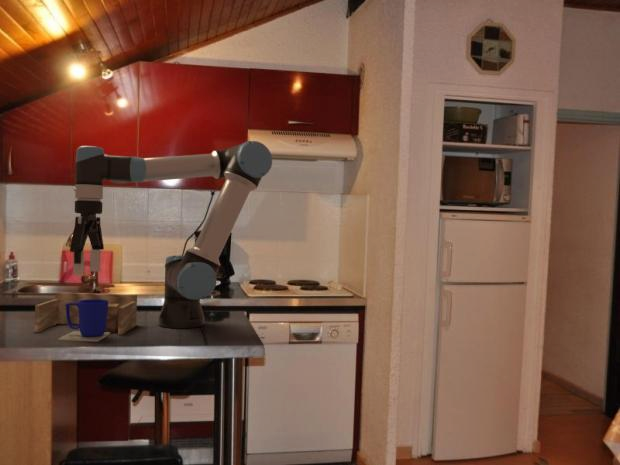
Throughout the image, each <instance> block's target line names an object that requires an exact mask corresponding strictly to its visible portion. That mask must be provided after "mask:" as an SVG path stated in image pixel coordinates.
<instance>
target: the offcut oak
mask: <svg viewBox="0 0 620 465" xmlns="http://www.w3.org/2000/svg"><path fill="white" fill-rule="evenodd" d="M118 314H119V304H108V311H107V320H116V319H117V318H118Z"/></svg>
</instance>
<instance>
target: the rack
mask: <svg viewBox="0 0 620 465" xmlns="http://www.w3.org/2000/svg"><path fill="white" fill-rule="evenodd" d="M54 295H55V296H54V299H50V300H48V301H45V302H41V303H39V304H35V305H34V332H35V333H41V331H44V329H45V330H47V329H49V328H52V327H54V326H56V324H57V325H59V324H60V325H68V322H67V315H66V304H67V303H78V302H79V301H81V300H89V299H101V300H107V301H108V304H119V314H118V331H117V335H124V334H125V333H127V332H129V330H131V329H133V328H134V327H136V326H137V314H138V313H137V311H138V310H137V309H138V294H122V293H121V294H120V293H119V294H118V293H117V294H116V293H94V292H92V293H91V292H90V293H88V292H84V293H83V292H82V293H81V292H57V291H56V292H55V293H54ZM69 312H70V320H71V323H72V325H79V311H78V307H77V306H76V305H69ZM53 325H54V326H53ZM51 326H52V327H51ZM48 327H49V328H48ZM46 328H47V329H46ZM126 331H127V332H126Z"/></svg>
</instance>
